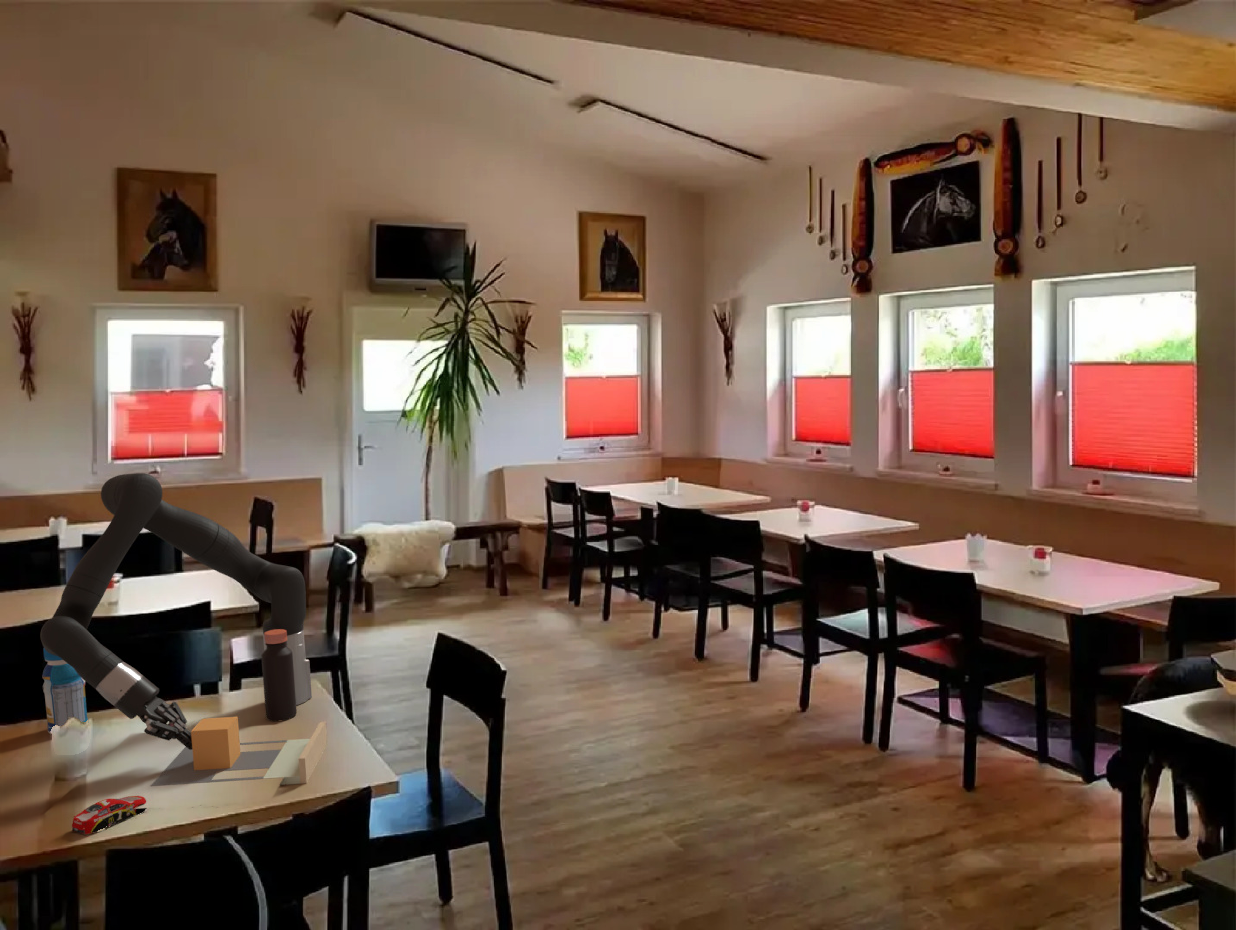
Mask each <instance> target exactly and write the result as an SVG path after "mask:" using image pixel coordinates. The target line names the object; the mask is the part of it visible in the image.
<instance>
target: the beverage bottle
mask: <svg viewBox="0 0 1236 930" xmlns="http://www.w3.org/2000/svg"><path fill="white" fill-rule="evenodd" d="M43 657H44V661H45V662H47V663H46V665H45V666H44V669H43V672H42V675H41V676H42V679H43V680H44V682H43V685H42V690H43V693H44V699H45V710H46V721H47V732H48V734H50V731H51V729H52V727H53V726H55V725H58V726H62V725H64V724H65V723H66V721H67V720H68V717H76V718H78V719H79V720H80V721H81V722H86V721H87V720H88V721H89V719H88V711H87V698H86V687H85V686H86V681H85V680H84V679H83V678H81V677H80V676H79V675H78V673H77V672H76V671H75V669H74V668H73V667H72V666H70V665H69V664H68V663H66V662H65V661H64V660H63V659H61V658H60V657H59V656H55V655H52V654H50V653H48V652H47V651H46V650H45V648H44V647H43Z"/></svg>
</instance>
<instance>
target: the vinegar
mask: <svg viewBox="0 0 1236 930" xmlns="http://www.w3.org/2000/svg"><path fill="white" fill-rule="evenodd" d="M264 638H265V645H267V649H266V650H265V651H264V650H263V652H262V654H261V669H262V683H263V695H264V711H265V718H266V719H267V720H268V721H271V720H272V721H271V722H280V721H279V720H282V721H287V720H289V718H290V719H293V718H294V717H295V716H296V715H297V714H298V713H297V712H298V711H297V710H298V709H297V705H296V695H295V681H294V666H293V653H292V651H291V649H289V648H288V647H287V646H286V643H287V631H286V630H284V629H275V630H270V631H267V632H265V633H264ZM264 638H263V639H264ZM286 719H287V720H286Z"/></svg>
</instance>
